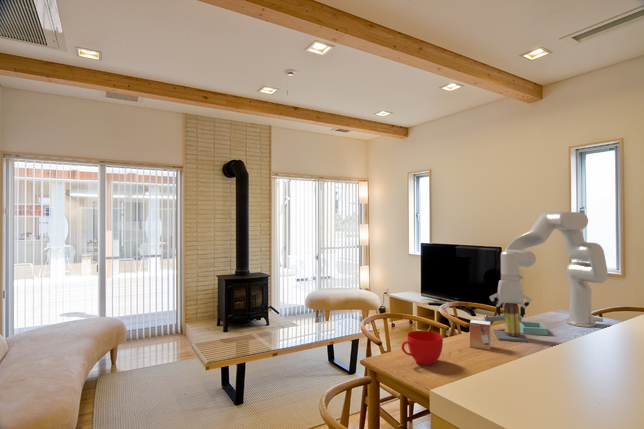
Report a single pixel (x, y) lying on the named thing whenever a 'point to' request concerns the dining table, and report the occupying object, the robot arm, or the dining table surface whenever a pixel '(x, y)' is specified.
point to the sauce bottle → (511, 319)
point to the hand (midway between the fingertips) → (510, 315)
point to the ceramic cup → (424, 346)
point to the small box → (480, 334)
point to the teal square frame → (533, 328)
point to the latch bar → (497, 318)
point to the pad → (510, 337)
